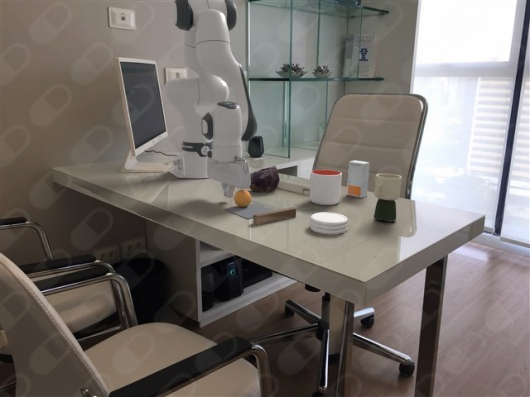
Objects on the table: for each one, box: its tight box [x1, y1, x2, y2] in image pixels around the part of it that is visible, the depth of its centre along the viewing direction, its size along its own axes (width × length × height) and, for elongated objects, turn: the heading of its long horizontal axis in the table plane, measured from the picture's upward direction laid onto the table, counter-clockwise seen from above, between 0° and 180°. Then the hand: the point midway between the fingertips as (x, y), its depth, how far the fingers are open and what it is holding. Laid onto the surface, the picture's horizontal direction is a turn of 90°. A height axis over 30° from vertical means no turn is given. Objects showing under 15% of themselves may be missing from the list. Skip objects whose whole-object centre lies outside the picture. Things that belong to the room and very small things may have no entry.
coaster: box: [309, 211, 349, 235], centre depth 118 cm, size 10×10×4 cm
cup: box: [309, 169, 343, 206], centre depth 144 cm, size 10×10×10 cm
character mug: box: [373, 173, 403, 222], centre depth 125 cm, size 11×7×13 cm, turn 132°
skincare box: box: [346, 160, 371, 199], centre depth 153 cm, size 6×4×12 cm
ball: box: [233, 189, 252, 207], centre depth 136 cm, size 5×5×5 cm
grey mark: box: [225, 202, 275, 220], centre depth 133 cm, size 12×12×1 cm
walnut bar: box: [252, 206, 297, 226], centre depth 124 cm, size 2×14×2 cm, turn 128°
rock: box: [249, 165, 281, 193], centre depth 158 cm, size 12×9×10 cm
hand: (228, 196), depth 142 cm, fingers closed
